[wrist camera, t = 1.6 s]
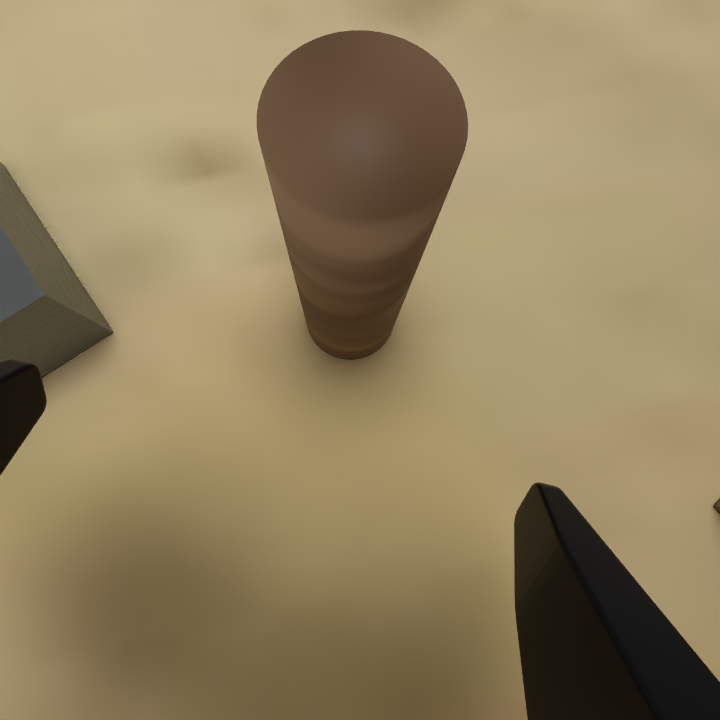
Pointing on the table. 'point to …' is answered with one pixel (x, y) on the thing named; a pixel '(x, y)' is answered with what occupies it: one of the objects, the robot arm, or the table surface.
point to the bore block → (39, 291)
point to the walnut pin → (358, 175)
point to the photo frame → (717, 506)
